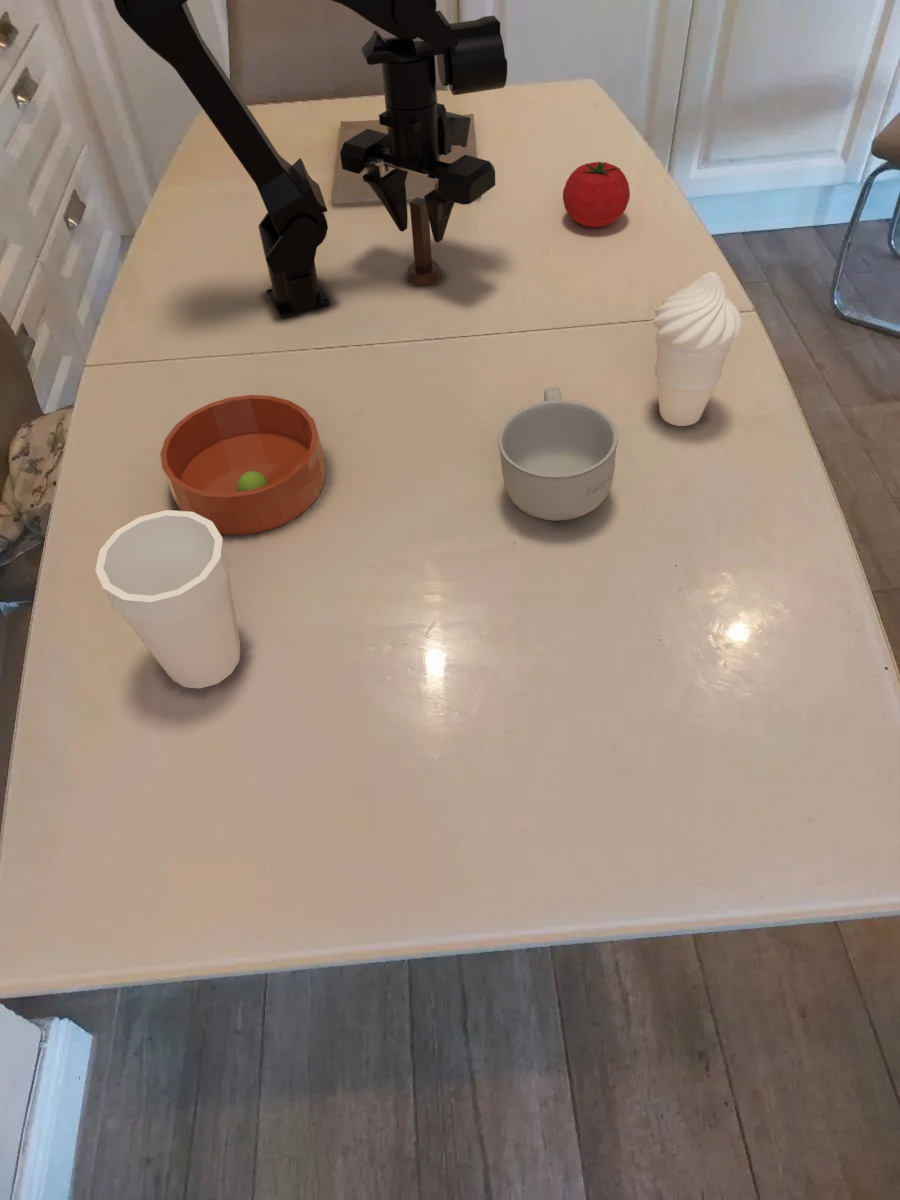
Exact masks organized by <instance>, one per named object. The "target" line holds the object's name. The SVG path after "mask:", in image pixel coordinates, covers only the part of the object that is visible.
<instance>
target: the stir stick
mask: <svg viewBox="0 0 900 1200" xmlns="http://www.w3.org/2000/svg"><path fill="white" fill-rule="evenodd" d="M409 209H410V210H409V211H410V222H411V223H410V225H411V234H412V237H411V238H412V243H413V244H412V246H413V248H412V249H413V260H414V261H412V262H411V263H410V264H409V265H408V266H407V273H408V280H409V282H410V283H411V284H412V285H414V286H419V287H429V286H433V285H435V284H437V283H438V282H439V281H440V279H441V270H440V269H441V268H440V267H441V266H440V264H439V262H437V261H435V260H433V258H432V243H431V241H432V240H431V226H430V221H429V217H428V212H427V208H426V203H425V198H422V197H419V196H417V197H416V198H414V199H412V200H411V201H410V202H409Z"/></svg>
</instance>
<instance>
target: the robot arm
mask: <svg viewBox="0 0 900 1200" xmlns="http://www.w3.org/2000/svg"><path fill="white" fill-rule="evenodd" d="M188 1H189V0H113V3H114V7H115V9H116V11H117V13H118V15H119V17H120V18H121V19H122V20H123V22H124V23H125V24H126V25H127V26H128V27H129V28H130V29H131V30H132V31H133V33H135V35H137V36H138V37H139V39H140V40H141V41H143V43H144V44H145V45H146V46H147V47H148V48H149V49H150V50H152V51H153V52H154V53H155V54H156V55H158V56H159V57H161V58H162V59H163V61H165V62H166V63H168V64H169V65H170V66H171V67H172V68H173V69H174V70H175V71H176V73H177V74H178V76H179V77H180V78H181V80H182V81H183V83H184V84H185V86H186V87H187V88H188V90H189V91H190V93H191V94H192V95H193V97H194V98H195V100H196V101H197V103H198V104H199V105H200V107H201V108H202V110H203V111H204V113H205V114H206V116H207V117H208V119H209V121H210V122H211V123H212V124H213V126H214V127H215V128H216V130H217V131H218V133H219V134H220V136H221V137H222V139H223V140H224V141H225V143H226V144H227V146H228V147H229V148H230V151H232V153H233V155H235V157H236V158H237V160H238V161H239V163H240V164H241V165H242V167H243V168H244V170H245V172H246V173H247V174H248V175H249V177H250V178H251V180H252V181H253V182H254V184H255V186H256V188H257V190H258V193H259V195H260V198H261V200H262V202H263V204H264V206H265V209H266V212H267V213H266V214H265V215H264V216H263V218H262V220H261V221H260V222H259V224H258V225H257V226H258V231H259V235H260V239H261V244H262V249H263V253H264V254H263V255H264V259H265V262H266V265H267V270H268V276H269V280H270V284H271V288H268V289H266V290H265V294H266V297H267V298H268V300H269V301H270V303H271V305H272V307H273V308H274V310H275V312H276V313H277V315H278V316H279V317H280V318H281V319H285V318H288V317H292V316H296V315H299V314H302V313H306V312H310V311H314V310H316V309H317V310H318V309H319V308H323V307H327V306H329V305H330V304H331V302H330V298H329V297H328V296H327V294H326V293H325V292H324V290H323V288H322V287H321V286H320V284H319V279H318V272H317V266H316V262H315V261H316V260H315V258H316V254H317V250H318V247H319V246H320V245H321V244H322V243H324V240H325V239H326V237H327V232H328V230H329V226H328V221H327V217H326V215H325V213H327V212H328V207H327V205H326V202H325V199H324V196H323V193H322V190H321V186H320V184H319V183H318V182H316V181H315V180H314V179H312V177H311V176H310V175H309V172H308V170H307V168H306V166H305V164H304V161H303V158H301V157H300V158H298V159H297V160H296V161H295V162H294V163H292V164H291V163H289V162H288V161H287V159H284V158H283V157H282V156H281V155H280V153H279V152H278V151H277V149H276V148H275V146H274V145H273V143H272V142H271V141H270V139H269V138H268V135H267V134H266V133H265V131H264V130H263V128H262V127H261V125H260V124H259V122H258V120H257V119H256V118H255V116H254V114H253V113H252V111H251V110H250V108H249V107H248V105H247V104H246V103H245V101H244V99H243V98H242V96H241V95H240V93H239V92H238V91H237V89H236V87H235V86H234V84H233V83H232V81H231V80H230V78H229V76H228V75H227V74H226V72H225V71H224V69H223V68H222V66H221V64H220V63H219V62H218V60H217V58H216V57H215V55H214V54H213V53H212V51H211V50H210V48H209V46H208V45H207V44H206V42H205V40H204V38H203V37H202V35H201V33H200V31H199V29H198V26H197V24H196V22H195V19H194V16H193V14H192V12H191V10H190V7H189V5H188V3H187V2H188ZM330 1H332V2H335V3H338V4H340V5H342V6H343V7H346V8H348V9H350V10H352V11H353V12H354V13H356V14H358V15H359V16H360V17H362V18H363V19H365V20H366V21H367V22H369V23H371V24H372V25H374V26H375V27H378V28H379V29H381V30H383V31H385V32H387V33H389V34H390V35H392V36H391V37H384V36H383V35H382V34H381V33H379V31H378V30H376V29H375V30H373V31H372V34H371V37H370V38H369V39H368V40H367V41H366V42H365V43H364V45H363V46H362V47H361V48H360V49H361V51H360V52H361V54H362V56H363V58H364V60H365V62H366V63H367V65H368V66H373V65H380V64H381V73H382V84H383V93H384V105H385V106H384V107H385V111H383V112H381V113H379V115H378V121H379V125H381V126H384V127H387V133H385V132H381V131H378V130H374V129H370V128H366V129H364V130H363V131H361V132H359V133H358V134H356V135H354V136H352V137H351V138H349V139H348V140H346V141H344V142H343V143H342V145H341V148H340V150H339V157H340V162H341V163H340V164H341V169H342V170H344V171H347V172H351V173H353V174H356V175H360V174H361V173H363V172H364V170H365V172H366V173H365V174H363V175H362V182H364V183H367V184H368V185H369V187H370V188H371V189H372V190H373V192H374V193H375V195H376V196H377V198H378V199H379V201H380V202H381V204H382V205H383V206H384V208H385V210H386V211H387V213H388V214H389V216H390V218H391V220H392V221H393V223H394V224H395V225H396V227H397V229H398V230H399V231H400V232H405V231H406V230H407V229H408V222H409V221H408V217H409V216H408V201H407V189H406V182H407V181H406V180H407V177H408V173H410V174H414V175H417V176H420V177H424V178H429V179H433V180H434V189H432V190H431V191H429V192H428V193H426V194H425V195H424V196H423V197H424V198H423V199H425V203H426V208H427V212H428V217H429V225H430V231H431V234H432V237H433V240H434V242H435V243H437V244H439V243H440V242H442V241H443V240H444V237H445V233H446V231H447V227H448V223H449V221H450V217H451V214H452V211H453V208H454V205H455V204H459V205H464V206H465V205H470V204H472V203H473V202H475V201H476V200H477V199H479V198H481V197H482V196H483V195H484V194H486V193H487V192H488V191H490V190H491V189H492V188H494V187H495V186H496V169H495V166H494V164H493V163H491V161H490V160H486V159H482V158H478V157H475V156H471V155H468V154H463V155H462V156H461V157H459V158H458V159H456V160H455V161H453V162H450V163H449V162H444V161H441V156H447V155H449V154H450V153H452V150H453V149H452V147H454V146H455V147H456V146H461V147H462V148H467V147H468V140H469V134H470V127H471V120H472V118H471V117H470V116H466V115H462V114H458V113H454V112H450V111H447V108H446V107H445V104H443V103H439V102H438V93H437V91H438V90H437V75H436V74H437V73H438V77H439V81H440V84H441V86H442V87H447V86H448V88H449V90H450V93H451V94H452V95H453V96H458V95H459V96H460V95H465V94H473V93H478V92H485V91H492V90H498V89H503V88H505V86H506V83H507V80H508V79H507V78H508V59H507V58H506V53H505V52H506V51H505V46H504V41H503V37H502V34H501V22H500V20H499V19H498V18H497V16H495V15H494V14H493V15H486V16H482V17H480V18H477V19H473V20H467V21H460V22H459V21H458V22H451V23H450V22H449V21H448V20H447V18H446V17H445V15H444V14H443V12H442V11H441V10H437V5H438V4H437V0H330ZM417 38H418V39H420V40H416V39H417ZM436 64H437V65H436ZM436 66H437V73H436Z"/></svg>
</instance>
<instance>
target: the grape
mask: <svg viewBox="0 0 900 1200" xmlns="http://www.w3.org/2000/svg"><path fill="white" fill-rule="evenodd" d="M267 484H268V481H267V479H266V478H265V477H264V476H263V475H262V474H261V473H259V472H255V471H250V472H246V473H244V474H243V475H242V476H241V477H240V478H239V480H238V484H237V489H238V492H240V491H247V490H252V489H255V488H258V487H261V486H264V485H267Z"/></svg>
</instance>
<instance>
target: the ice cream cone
mask: <svg viewBox="0 0 900 1200" xmlns="http://www.w3.org/2000/svg"><path fill="white" fill-rule="evenodd" d="M726 291H727V290H726V286H725V284H724V282H723V279H722V278H721V277H720V275H719V274H717V272H715V271H708V272H704V273H703V274H702V275H700V276H698V277H696V278H695V279H694V281H693V282H692V283H690V284H689V285H687V286H686V287H684V288H681V289H678V290H676V291H674V292H673V294H672V295H671V296H666V297H664V298H663V299H662V305H660V306H658V307H656V308H655V309H654V313H655V316H656V317H655V318H654V319H653V320H652V324H653V326H654V327H655V328H656V329H657V331H656V334H655V335H656V337H655V346H656V357H655V359H656V360H655V361H656V362H655V365H654V374H655V376H656V386H657V396H658V409H659V415H660V417H661V418H662V420H664V422H666V423H667V424H670V425H673V426H677V427H688V426H692V425H695V424H696V423H697V422H698V421H700V419H701V418H702V415H703V413H704V411H705V409H706V407H707V404H708V402H709V400H710V398H711V396H712V394H713V391H714V389H715V387H716V385H717V384H718V383H719V382H720V380H721V378H722V374H723V373H722V371H723V367H724V364H725V362H726V358H727V355H728V354H729V353H730V350H731V349H732V348H731V347H732V344H733V343H734V342H735V340H736V339H737V338H738V335H739V333H740V331H741V329H742V317H741V313H740V311H739V310H738V308H737V306H736V305H735V303H734V302H733V301H732V300H731V299H730V298H729V297H727V292H726Z"/></svg>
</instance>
